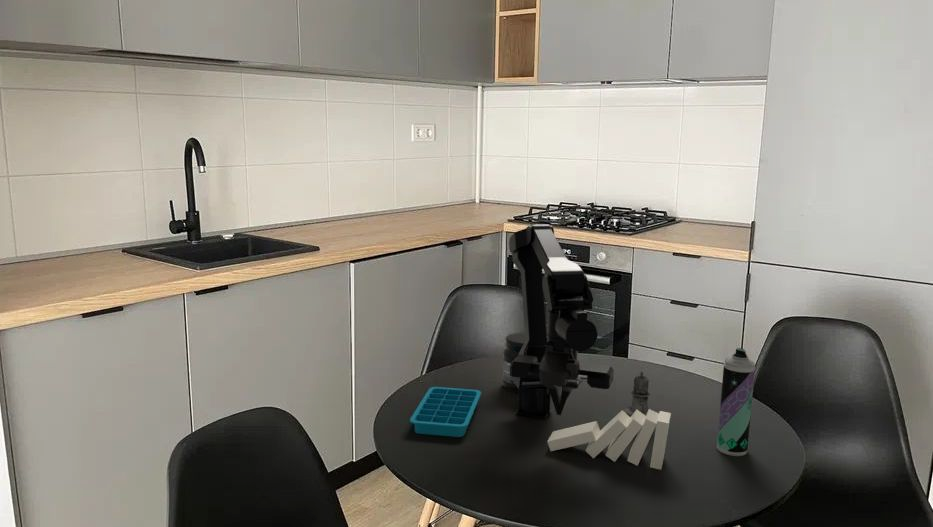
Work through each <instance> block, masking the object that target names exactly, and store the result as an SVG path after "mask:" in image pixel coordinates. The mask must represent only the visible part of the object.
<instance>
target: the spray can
mask: <svg viewBox="0 0 933 527" xmlns="http://www.w3.org/2000/svg"><path fill="white" fill-rule="evenodd" d="M746 353H747V351H746V350H745V349H744V348H741V347H737V348H736V349H735V352H734V353H733V354H732V355H731V356H729V357H726V358H725V359H724V363H723V370H722V371H723V372H722V380H721V381H722V382H721V383H722V384H721V395H720V403H719V404H720V406H719V407H720V408H719V418H718V429H717V430H718V431H717V442H716V449H717V450H718V451H719V452H720V453H722V454H724V455H728V456H732V457H741V456H742V457H743V456H745V455H746V454H747V453H748V448H749V435H750V426H751V425H750V424H751V415H752V403H753V392H754V383H755V372H756V367H755V365H756V363H755V361H754V360H752V359H750V357H749V356H748V354H746Z"/></svg>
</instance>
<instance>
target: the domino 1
mask: <svg viewBox="0 0 933 527" xmlns="http://www.w3.org/2000/svg"><path fill="white" fill-rule="evenodd" d="M600 430H601V429H600V426H599V423H598V421H597V420H596V421H591V422H587V423H583V424H579V425H575V426H571V427H566V428H562V429H558V430H553V431H552V432H551V435H550V436H549V437H548V440H547V445H548V447H549V451H550V452H554V451H558V450H562V449H567V448H570V447H571V448H572V447H575V446H580V445H585V444H589V442H594V441H596V439H597V437H598V435H599V432H600Z"/></svg>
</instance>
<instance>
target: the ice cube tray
mask: <svg viewBox="0 0 933 527" xmlns="http://www.w3.org/2000/svg"><path fill="white" fill-rule="evenodd" d="M481 395H482V391H481V390H479V389H469V388H467V389H466V388H455V387H454V388H453V387H441V386H431V387H429V388H428V390H427V392H426V393H425V395H424V397H423V398H422V400H421V401H420V403H419V404H418V406H417V408H416V409H415V410H414V412H413V414H412V416H411V417H410V419H409V422H410V423H411V424H413V425H414V432H415V434H422V435H431V436H444V437H453V438H454V437H455V438H460V437H463V436H465V434H466V432H467V430H466V429H468V427H469V424H470V422H471V420H472V417H473V416H474V413H475V411H474V410H476V408H477V406H478V402H479V400H480V399H481V398H480V397H481Z"/></svg>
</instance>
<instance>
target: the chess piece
mask: <svg viewBox="0 0 933 527" xmlns="http://www.w3.org/2000/svg"><path fill="white" fill-rule="evenodd" d="M631 395H632V401H631V402H632V403H631V405H630V406H627V407H625V408H624V412H625V413H626V414H627V415H628V416H629V417H631V416H632V415H633V413H634V412H635V411H636V409H637V410H638V411H640V412H641V413H643V414H644V415H645V416H646V414H647V412H648V410H649V409H650V410H652V411H654V410H653V409H652V408H650V407H649V396H650V395H651V394H650V392H649V378H648V377H647V376H645V375H644V372H643V371H640V373H639V374H638V375H636V376H635V377H634V379H633V390H632V391H631ZM638 432H639V431H638Z"/></svg>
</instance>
